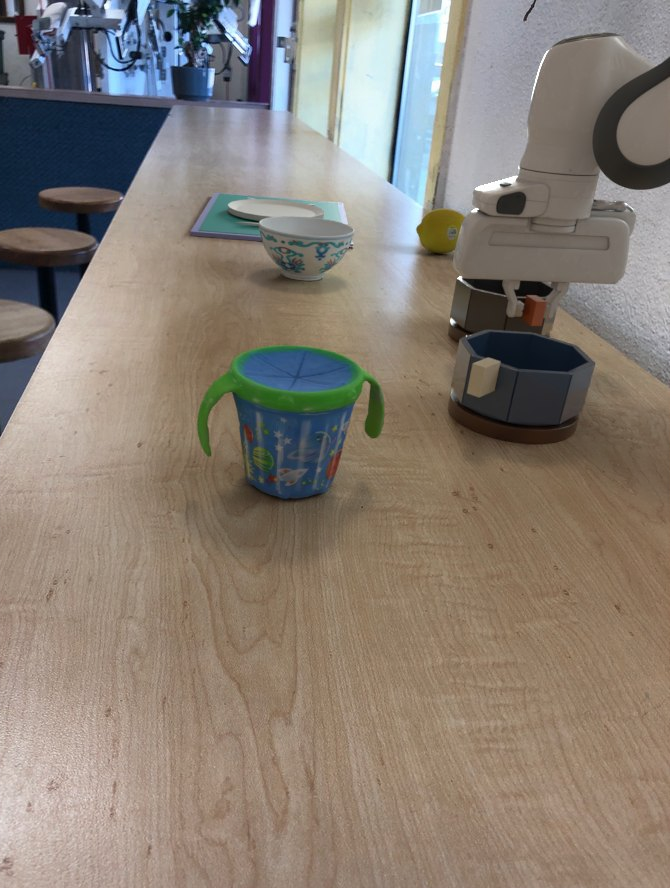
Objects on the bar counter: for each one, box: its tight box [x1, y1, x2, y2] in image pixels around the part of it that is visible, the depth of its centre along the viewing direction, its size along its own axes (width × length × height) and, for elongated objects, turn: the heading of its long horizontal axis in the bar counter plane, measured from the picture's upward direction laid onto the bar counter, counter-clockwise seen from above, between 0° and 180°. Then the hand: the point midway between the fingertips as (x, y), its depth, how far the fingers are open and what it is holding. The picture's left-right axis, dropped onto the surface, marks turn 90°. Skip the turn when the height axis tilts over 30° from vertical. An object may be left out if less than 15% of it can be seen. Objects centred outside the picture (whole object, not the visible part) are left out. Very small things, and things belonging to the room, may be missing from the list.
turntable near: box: [447, 388, 580, 445], centre depth 82 cm, size 13×13×2 cm
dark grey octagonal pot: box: [449, 276, 560, 336], centre depth 102 cm, size 15×12×6 cm
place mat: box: [189, 192, 354, 247], centre depth 166 cm, size 45×30×2 cm
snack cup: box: [196, 344, 385, 500], centre depth 64 cm, size 16×10×10 cm
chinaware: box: [259, 216, 355, 282], centre depth 125 cm, size 15×15×8 cm
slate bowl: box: [450, 330, 596, 426], centre depth 79 cm, size 15×12×6 cm
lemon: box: [415, 207, 466, 255], centre depth 148 cm, size 11×8×8 cm
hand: (528, 316), depth 97 cm, fingers closed on dark grey octagonal pot, 2 cm apart
